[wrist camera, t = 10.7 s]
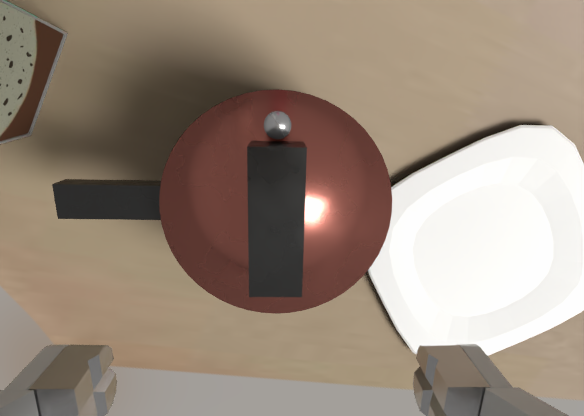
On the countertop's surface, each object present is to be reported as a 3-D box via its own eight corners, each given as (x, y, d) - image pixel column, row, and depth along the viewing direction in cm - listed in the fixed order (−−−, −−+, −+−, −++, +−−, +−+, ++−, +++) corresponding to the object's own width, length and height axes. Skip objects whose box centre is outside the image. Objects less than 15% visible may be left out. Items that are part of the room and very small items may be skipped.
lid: (156, 87, 23) (129, 84, 19) (397, 92, 23) (422, 91, 19) (172, 304, 27) (153, 339, 23) (377, 304, 28) (393, 339, 24)
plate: (334, 206, 35) (336, 211, 34) (554, 96, 33) (569, 96, 31) (418, 374, 41) (424, 385, 39) (611, 290, 39) (626, 298, 37)
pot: (101, 94, 31) (33, 92, 23) (360, 100, 32) (390, 101, 23) (119, 248, 35) (67, 297, 27) (349, 251, 36) (371, 298, 27)
